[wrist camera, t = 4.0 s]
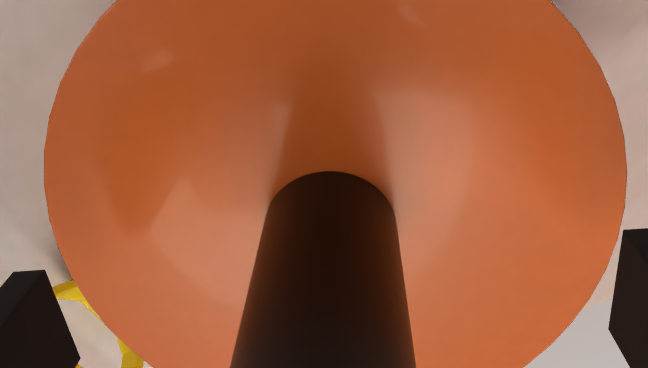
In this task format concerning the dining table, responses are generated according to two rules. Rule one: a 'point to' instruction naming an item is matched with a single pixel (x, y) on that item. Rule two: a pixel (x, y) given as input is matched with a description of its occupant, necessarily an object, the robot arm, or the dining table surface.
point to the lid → (335, 180)
